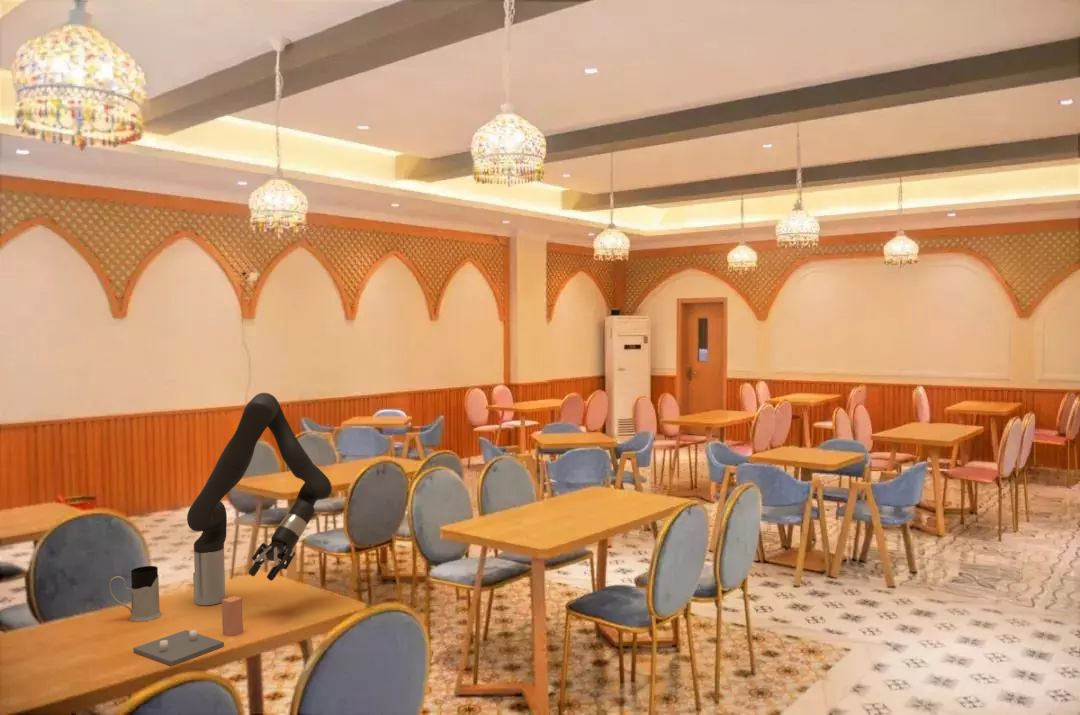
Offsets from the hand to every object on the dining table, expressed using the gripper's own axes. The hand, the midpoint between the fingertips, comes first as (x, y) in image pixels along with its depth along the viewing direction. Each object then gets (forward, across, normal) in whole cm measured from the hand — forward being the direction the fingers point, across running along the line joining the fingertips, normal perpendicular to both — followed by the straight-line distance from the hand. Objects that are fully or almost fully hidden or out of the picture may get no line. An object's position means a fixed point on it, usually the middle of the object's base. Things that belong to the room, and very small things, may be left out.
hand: (260, 577), depth 251 cm
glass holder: (+23, -37, -3) cm, 44 cm away
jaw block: (+17, 0, +3) cm, 17 cm away
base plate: (+28, -2, -9) cm, 30 cm away
